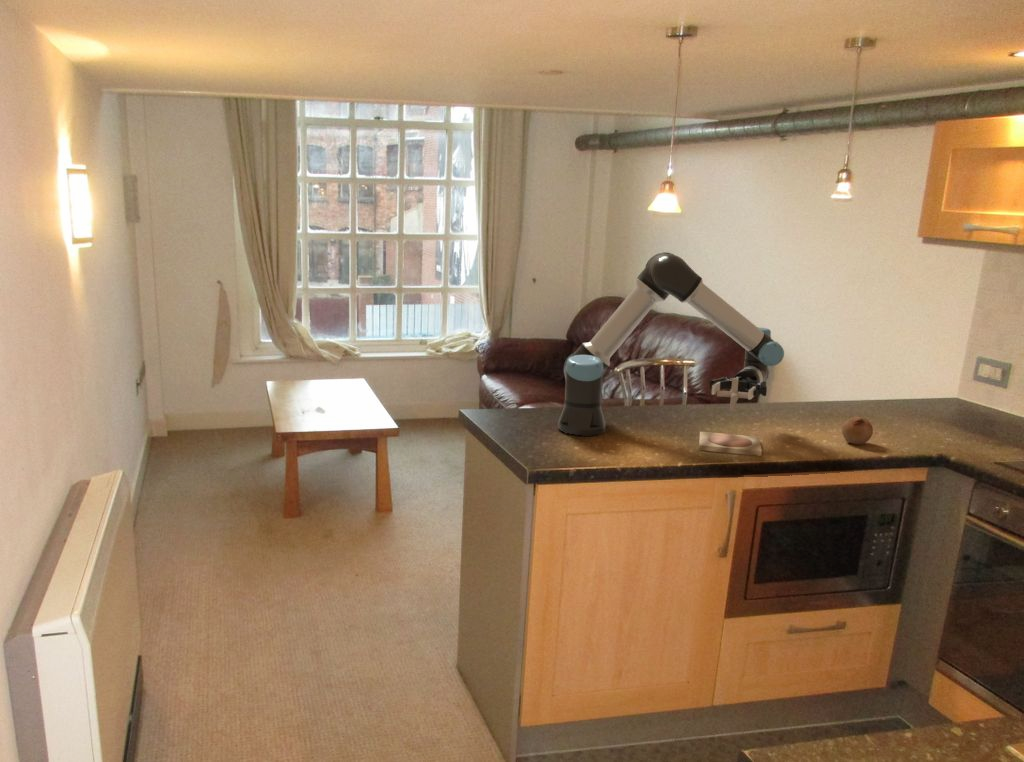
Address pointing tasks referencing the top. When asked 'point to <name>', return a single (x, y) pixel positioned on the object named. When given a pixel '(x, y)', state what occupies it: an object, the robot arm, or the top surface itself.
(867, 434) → the onion
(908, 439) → the top surface
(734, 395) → the grey toy jack
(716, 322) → the robot arm
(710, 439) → the board
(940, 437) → the top surface
